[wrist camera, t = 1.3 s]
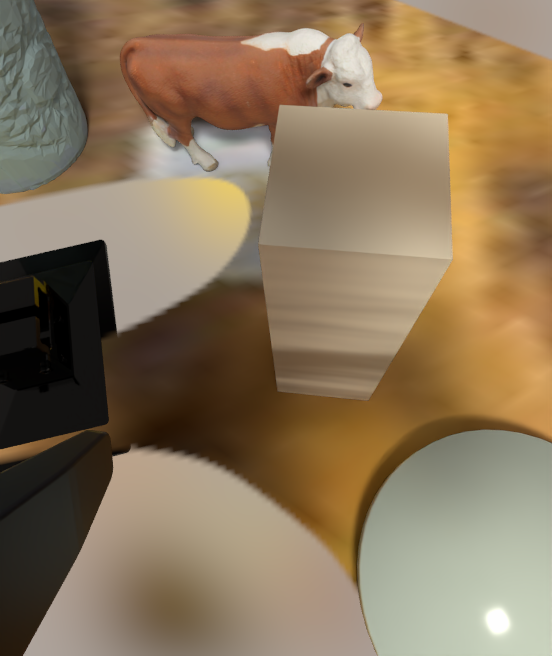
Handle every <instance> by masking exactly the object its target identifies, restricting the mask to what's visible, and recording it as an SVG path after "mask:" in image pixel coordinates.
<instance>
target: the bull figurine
mask: <svg viewBox="0 0 552 656" xmlns="http://www.w3.org/2000/svg"><path fill="white" fill-rule="evenodd" d="M363 31H364V24H363V23H362V24H361V25H360V26H359V28H358V30H357V31H356V32H355V33H354V34H345V35H343V36H342V37H340V38H339V39H333V38H330V37H328V36H327V35H325V34H324V33H322V32H320V31H318V30H314V29H309V28H304V29H299V30H296V31H293V32H290V33H287V32H268V33H265V34H261V35H256V36H202V35H195V34H176V35H160V34H156V35H149V36H146V37H137V38H133V39H130V40H129V41H127V42H126V43H125V45H124V46H123V48H122V50H121V53H120V65H121V70H122V73H123V76H124V78H125V81H126V83H127V85H128V87H129V89H130V91H131V92H132V94H133V95H134V97H135V98H136V100H137V101H138V103H139V104H140V105H141V107H142V108H143V110H144V112H145V113H146V115H147V117H148V120H149V122H150V124H151V126H152V128H153V129H154V131H155V132H156V134H157V135H158V136H159V137H160V138H161V139H162V141H163V142H164V143H166V144H168V145H169V146H170V147H174V146H175V145H176V140H177V141H179V142H180V143H181V144H182V145H183V146H184V147H185V148H186V149H187V151H188V152H189V154H190V156H191V158H192V162H193V164H194V165H195V164H197V163H199V164H200V165H201V166H202V168H203V170H205V171H213V170H215V169H216V168H217V166H218V161H217V160H216V159H214V158H213V157H212V155H211V154H209V153H207V152H206V151H205V150H203V149H202V148H201V147H200V146H199V145H198V144H197V143H196V142H195V140H194V138H193V134H194V129H193V128H192V127H191V121H192V119H193V118H194V117H200V118H202V119H203V120H205V121H206V122H208V123H210V124H212V125H214V126H215V127H218V128H221V129H225V130H241V129H246V128H251V127H256V126H264V125H268V126H269V130H270V132H271V143H272V147H273V144H274V138H275V131H276V125H277V118H278V112H279V106H280V105H292V106H310V107H328V108H333V107H334V105H335V104H338V105H341V106H344V107H346V106H350V105H352V106H353V107H354V109H365V110H375V109H376V108H378V106H379V105H380V103H381V101H382V94H381V93H380V92H379V91H378V90H377V89H376V86H375V83H374V79H373V68H372V60H371V58H370V56H369V53H368V52H367V50H366V49H365V48H364V47H362V45H361V43H360V42H361V40H362V37H363ZM154 112H155V113H156V114H157V115H156V114H155V113H154ZM158 115H159V116H160V117H159V116H158ZM161 117H162V118H164V119H165V120H166V121H167V122H168V123H169V124H168V123H167V122H166V121H165V120H164V119H162V118H161ZM272 151H273V148H272ZM271 157H272V152H271V155H270V158H269V160H268V166H270V164H271Z"/></svg>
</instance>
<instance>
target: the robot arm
mask: <svg viewBox="0 0 552 656" xmlns="http://www.w3.org/2000/svg"><path fill="white" fill-rule="evenodd" d="M112 473H113V460H112V450H111V440H110V436H109V434H108V433H106V432H102V431H94V430H86V431H84V432H82V433H80V434H78V435H76V436H74V437H72V438H70V439H68V440H66V441H64V442H61V443H59V444H57V445H55V446H53V447H51V448H49V449H47V450H45V451H43V452H41V453H39V454H37V455H35V456H33V457H31V458H29V459H27V460H25V461H23V462H21V463H19V464H17V465H15V466H13V467H11V468H9V469H7V470H5V471H3V472H1V473H0V656H23V654H24V653H25V651H26V649H27V647H28V645H29V644H30V642H31V640H32V638H33V636H34V635H35V633H36V631H37V629H38V627H39V625H40V624H41V622H42V620H43V618H44V616H45V615H46V612H47V611H48V609H49V607H50V606H51V604H52V602H53V600H54V598H55V596H56V595H57V593H58V591H59V589H60V587H61V586H62V584H63V582H64V580H65V578H66V576H67V575H68V573H69V571H70V569H71V567H72V566H73V564H74V562H75V560H76V558H77V556H78V554H79V552H80V550H81V548H82V546H83V544H84V541H85V539H86V537H87V534H88V532H89V530H90V527H91V525H92V523H93V520H94V518H95V515H96V513H97V511H98V508H99V506H100V504H101V501H102V499H103V497H104V494H105V492H106V490H107V487H108V485H109V482H110V480H111V477H112Z"/></svg>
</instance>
